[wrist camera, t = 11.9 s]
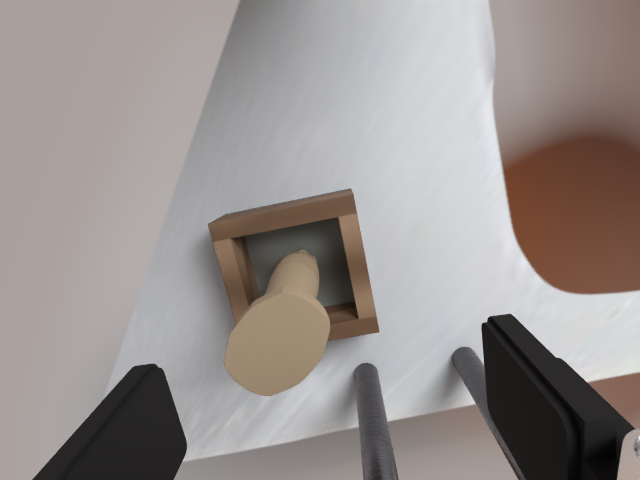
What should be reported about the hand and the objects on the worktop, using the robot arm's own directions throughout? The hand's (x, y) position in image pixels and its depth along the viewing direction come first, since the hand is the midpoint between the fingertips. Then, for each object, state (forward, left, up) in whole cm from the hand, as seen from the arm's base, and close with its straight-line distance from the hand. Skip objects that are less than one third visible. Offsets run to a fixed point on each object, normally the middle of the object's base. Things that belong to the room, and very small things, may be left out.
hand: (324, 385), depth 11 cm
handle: (+3, -4, -24) cm, 24 cm away
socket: (+3, -4, -25) cm, 25 cm away
